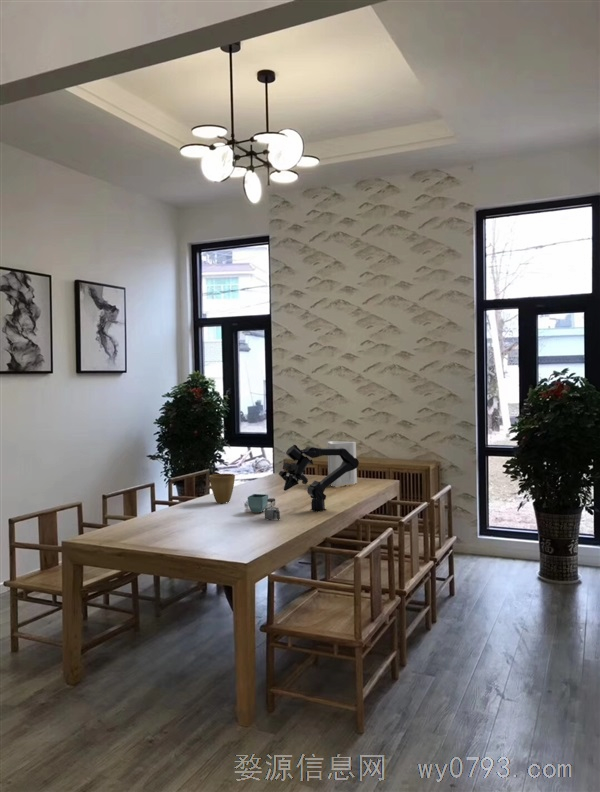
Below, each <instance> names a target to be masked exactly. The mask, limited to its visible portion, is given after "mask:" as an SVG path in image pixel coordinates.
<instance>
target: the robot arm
mask: <svg viewBox="0 0 600 792" xmlns="http://www.w3.org/2000/svg"><path fill="white" fill-rule="evenodd" d="M285 451H286V452H285V455H287V456H288V457H289V458H290V459H291V460H292V461H296V462H291V463H288V462H284V463H283V466H282V470H280V471H279V473H278V476H279V477H280V478H282V479H283V481H285V483H284V486H283V491H288V490H289V489H291V488H293V487H295V486H296V485H299V482H300V481H301V483H302V485H307V484H308V482H309V479H308V478H307V476H306V475H305V473H306V471H305V470H306V469H307V467H308V466H310V465H312V466H313V465H314V462H313V459H316V458H319V457H323V456H327V457H328V456H330V455H340V457H341V459H342V460H343V462H342V464H341V466H340V467H338V468H337V469H336V470H335V471H333V472H332V473H331V474H329V475H327V476H325V477H324V478H323V479H321V480H320V481H319V480H314V481H312V483H310V484H309V485H308V487H307V490H306V491H307V494H308V495H309V497H310V498H311V502H310V503H311V507H310V511H311V510H313V511H312V512H316V511H317V513H318V511H320V512H323V510H325V511H327V508H326V505H325V500H326V498H327V495H326V494H325V491H326V488H328V487H329V486H330V484H332V483H333V482H334V481H335V480H337V479H338V478H339V477H341V476H342V475H343V474H345V473H346V472H348V471H351V470H354V469H355V468H357V469H358V468H359V465H360V463H359V459H358V458H357V457H356V458H354V457H353V456H352V455H351V454H350V453H349V452H348V451H347V450H346V449H344V448H328V447H327V448H324V447H323V448H321V447H316V446H310V445H308V446H306V447H305V448H304V449H300V448H299V447H298V445H296V444H293V445H292V446H290V447H289V448H288V449H287V450H285ZM310 458H311V459H310ZM285 470H286V471H285Z"/></svg>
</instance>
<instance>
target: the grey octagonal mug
mask: <svg viewBox="0 0 600 792" xmlns="http://www.w3.org/2000/svg"><path fill="white" fill-rule="evenodd" d="M268 508H271V506H270V507H266V508H265V511H264V520H266V519H278V520H277V521H280V520H281V513H280V512H281V511H279V507H276V506H275V507H273V506H272V508H276V510H267V509H268ZM279 519H280V520H279Z"/></svg>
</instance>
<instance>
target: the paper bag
mask: <svg viewBox="0 0 600 792" xmlns="http://www.w3.org/2000/svg"><path fill="white" fill-rule="evenodd" d="M356 443H357V442H356V441H337V440H336V441H335V440H334V441H332V440H331V441H327V445H326V446H327V448H344V449H346V450H347V451H348V452H349V453H350V454H351V455H352V456H353V457H354V458H356V459H357V444H356ZM342 462H343V460H342V459H341V457H340V455H330V456H327V470H328V471H327V472H328V475H329V474H331V473H332V472H333V471H335V470H336V469H337V468H338V467H340V466H341V464H342ZM357 469H358V467H357V468H355V469H354V470H351V471H348V472H346V473H345V474H343V475H342V476H341V477H339V478H338V479H337V480H335V481H334V482H333V483H332V484H331V485H332V486H339V485H347V484H355V483H357V484H358V479H357V478H358V476H357V475H358V474H357V473H358V472H357V471H358V470H357ZM328 475H327V476H328Z"/></svg>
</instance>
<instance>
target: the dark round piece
mask: <svg viewBox="0 0 600 792" xmlns="http://www.w3.org/2000/svg"><path fill="white" fill-rule="evenodd" d="M267 501H268V503H270V507H271V508H270V507H267V508H268V509H267V510H276V508H277V507H276V508H272V507H273V502H276V498H274V497H273V498H272V497H271V498H270V497H268V499H267Z"/></svg>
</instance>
